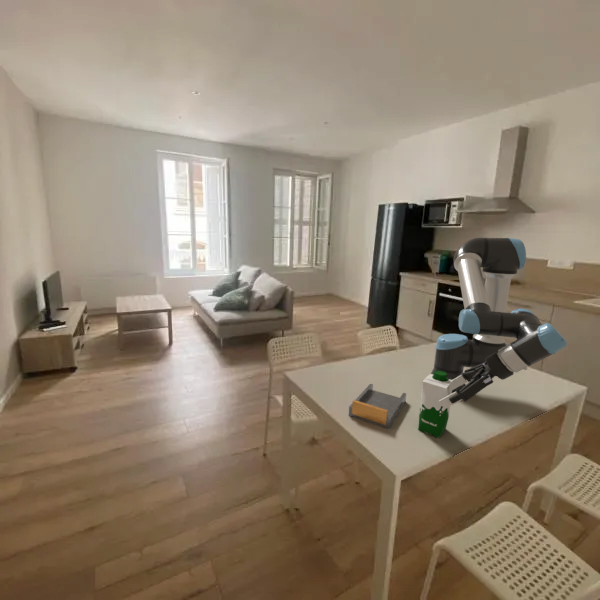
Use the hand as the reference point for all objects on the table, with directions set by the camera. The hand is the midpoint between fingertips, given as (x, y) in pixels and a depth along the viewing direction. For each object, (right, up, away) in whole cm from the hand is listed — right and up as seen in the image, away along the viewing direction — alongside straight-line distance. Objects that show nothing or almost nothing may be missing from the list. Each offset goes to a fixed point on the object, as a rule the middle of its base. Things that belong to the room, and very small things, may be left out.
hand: (444, 395), depth 105 cm
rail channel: (-17, -10, +18) cm, 27 cm away
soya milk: (-2, -13, +5) cm, 14 cm away
